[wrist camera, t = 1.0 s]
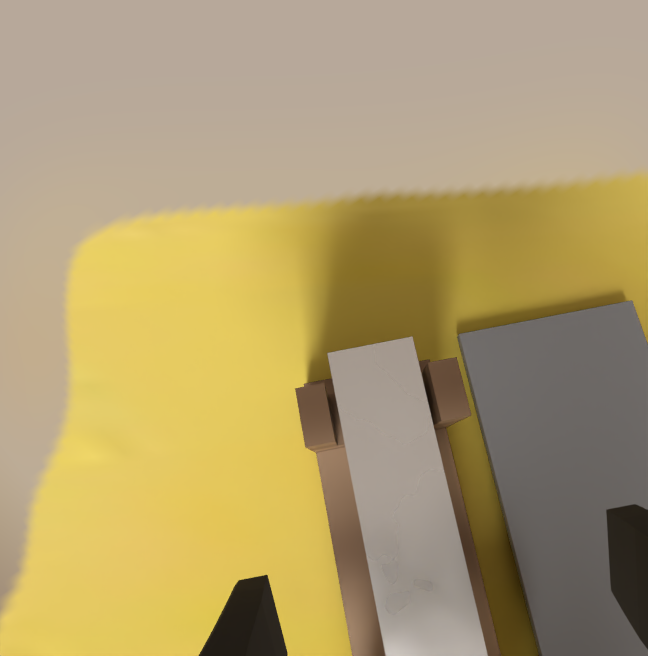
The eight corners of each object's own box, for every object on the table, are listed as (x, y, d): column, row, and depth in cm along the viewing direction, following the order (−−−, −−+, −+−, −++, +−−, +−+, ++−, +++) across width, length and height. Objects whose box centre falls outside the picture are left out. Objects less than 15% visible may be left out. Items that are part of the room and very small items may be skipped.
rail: (514, 829, 18) (545, 898, 15) (423, 846, 18) (436, 919, 15) (404, 354, 22) (412, 336, 19) (330, 368, 22) (327, 352, 19)
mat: (780, 748, 21) (791, 755, 20) (573, 788, 21) (578, 795, 21) (626, 303, 26) (632, 300, 25) (457, 336, 26) (459, 333, 25)
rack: (522, 766, 21) (592, 889, 15) (379, 793, 21) (389, 928, 15) (426, 364, 25) (449, 329, 19) (306, 387, 25) (290, 360, 19)
